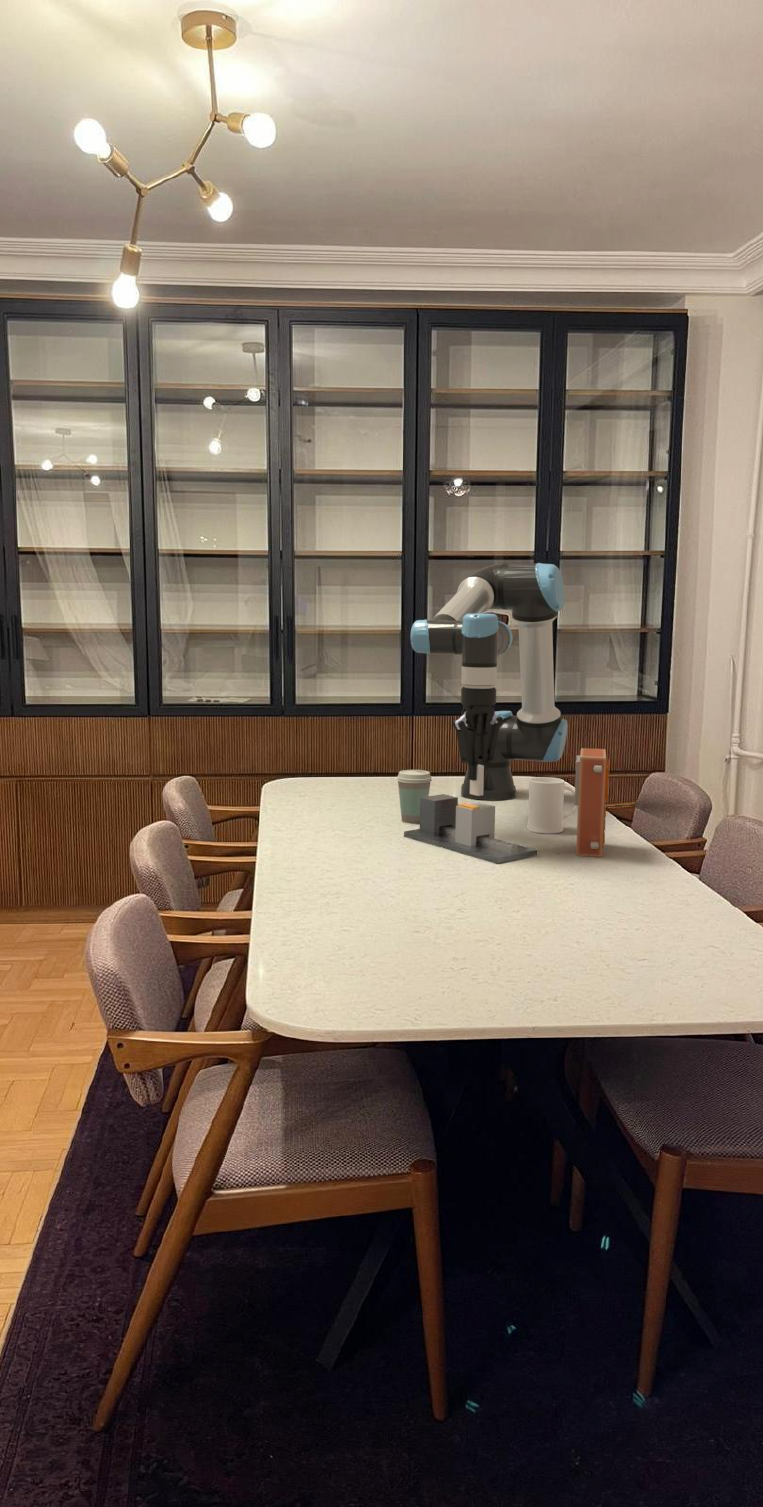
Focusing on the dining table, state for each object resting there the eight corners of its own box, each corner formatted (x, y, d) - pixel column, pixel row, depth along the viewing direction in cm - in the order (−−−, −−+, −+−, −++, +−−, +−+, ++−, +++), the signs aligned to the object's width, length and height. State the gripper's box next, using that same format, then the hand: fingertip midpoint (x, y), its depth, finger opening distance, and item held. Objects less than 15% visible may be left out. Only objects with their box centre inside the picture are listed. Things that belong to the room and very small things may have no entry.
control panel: (604, 842, 233) (605, 858, 219) (573, 841, 235) (571, 856, 220) (608, 748, 230) (609, 758, 215) (576, 747, 231) (575, 757, 217)
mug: (574, 826, 249) (576, 777, 248) (579, 834, 241) (581, 783, 239) (525, 825, 250) (526, 776, 248) (528, 833, 241) (530, 782, 240)
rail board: (403, 836, 237) (404, 796, 235) (443, 829, 244) (444, 791, 243) (497, 863, 214) (498, 819, 212) (537, 855, 221) (538, 812, 220)
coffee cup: (431, 824, 250) (432, 775, 248) (396, 824, 250) (396, 774, 248) (430, 817, 258) (431, 769, 256) (396, 816, 258) (396, 769, 257)
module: (455, 841, 227) (456, 804, 226) (478, 837, 231) (479, 800, 230) (471, 846, 223) (471, 808, 222) (494, 841, 227) (495, 804, 226)
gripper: (488, 683, 229) (485, 788, 233) (444, 686, 221) (442, 795, 225) (512, 686, 223) (509, 793, 227) (468, 689, 215) (466, 801, 219)
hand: (476, 794), depth 226 cm, fingers closed
